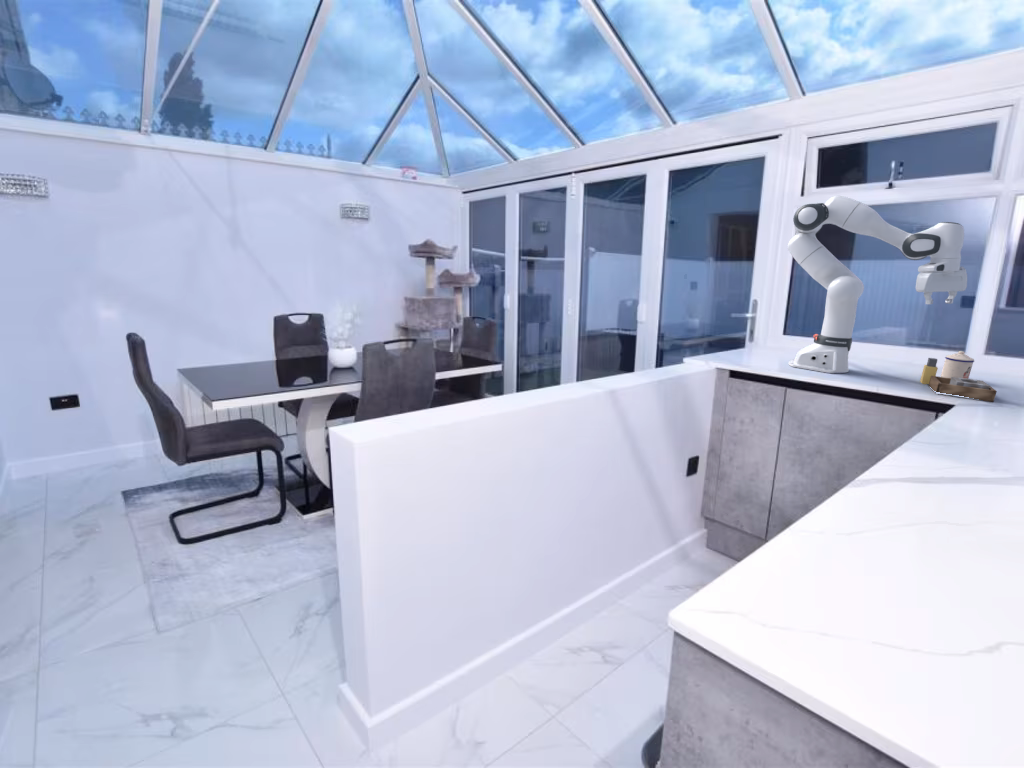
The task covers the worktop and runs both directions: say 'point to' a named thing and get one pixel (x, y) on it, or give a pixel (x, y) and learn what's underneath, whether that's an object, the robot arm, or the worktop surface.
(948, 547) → the worktop surface
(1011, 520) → the worktop surface
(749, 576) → the worktop surface
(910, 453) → the worktop surface
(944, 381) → the walled box
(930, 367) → the connector
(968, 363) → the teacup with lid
